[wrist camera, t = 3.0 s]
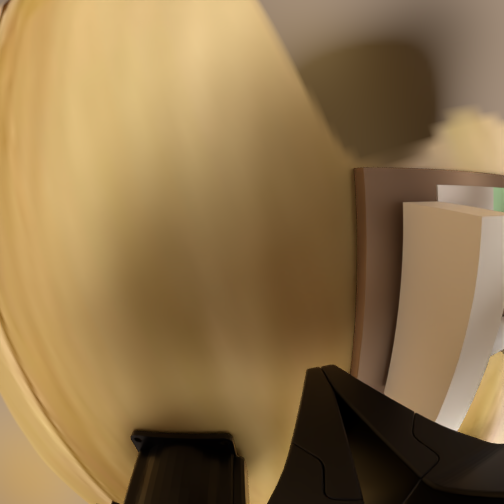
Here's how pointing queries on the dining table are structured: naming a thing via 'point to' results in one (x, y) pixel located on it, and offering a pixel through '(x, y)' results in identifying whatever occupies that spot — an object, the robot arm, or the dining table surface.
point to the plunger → (447, 308)
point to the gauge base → (398, 249)
